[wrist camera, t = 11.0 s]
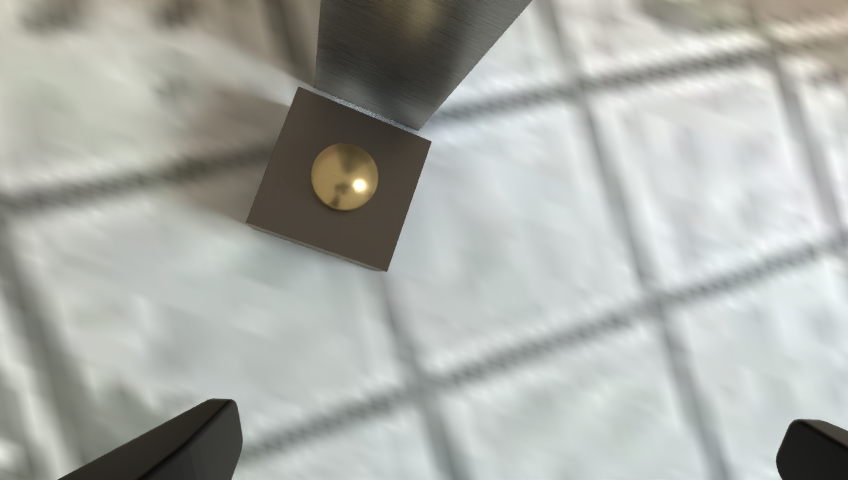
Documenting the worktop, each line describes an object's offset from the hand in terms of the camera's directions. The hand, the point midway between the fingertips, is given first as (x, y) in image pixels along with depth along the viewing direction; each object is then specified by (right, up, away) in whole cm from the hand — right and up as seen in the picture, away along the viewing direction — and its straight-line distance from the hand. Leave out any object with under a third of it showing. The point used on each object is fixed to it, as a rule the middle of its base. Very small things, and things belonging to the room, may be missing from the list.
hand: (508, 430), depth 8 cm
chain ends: (-3, +10, +12) cm, 16 cm away
